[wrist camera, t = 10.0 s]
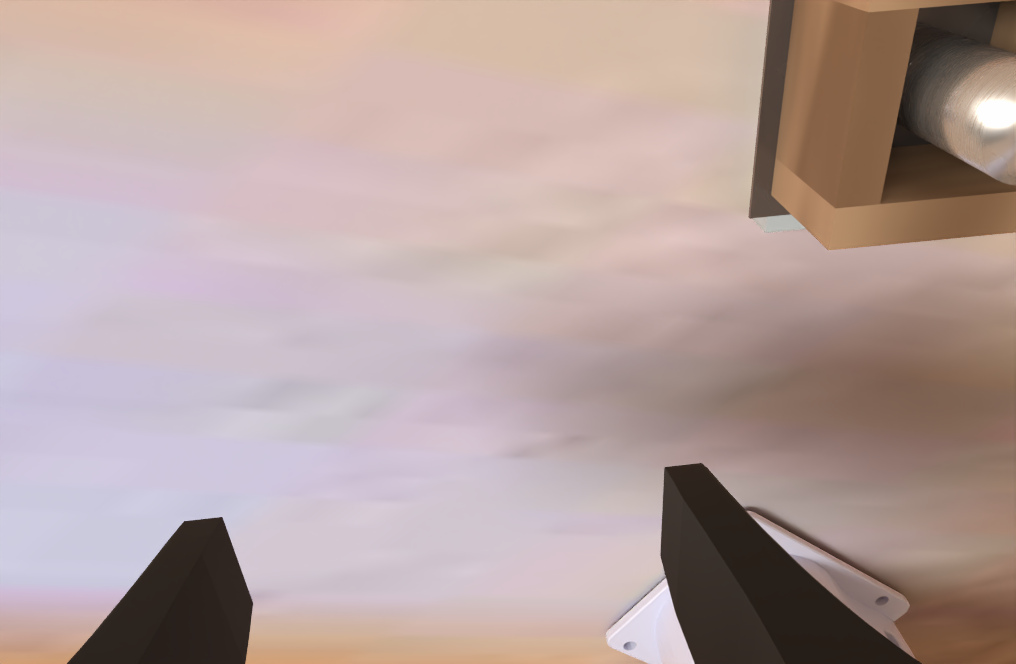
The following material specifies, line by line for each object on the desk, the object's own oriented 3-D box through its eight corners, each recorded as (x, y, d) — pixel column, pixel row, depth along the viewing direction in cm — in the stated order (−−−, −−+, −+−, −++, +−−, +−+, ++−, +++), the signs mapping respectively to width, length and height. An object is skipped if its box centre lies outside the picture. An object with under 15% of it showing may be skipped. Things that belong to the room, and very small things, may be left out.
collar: (1063, -82, 17) (1190, -71, 15) (993, 174, 21) (1085, 225, 18) (802, -61, 17) (877, -46, 14) (771, 194, 20) (828, 250, 17)
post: (1085, -106, 17) (1300, -96, 13) (1003, 191, 21) (1149, 275, 17) (778, -79, 17) (894, -60, 13) (748, 217, 21) (831, 309, 16)
